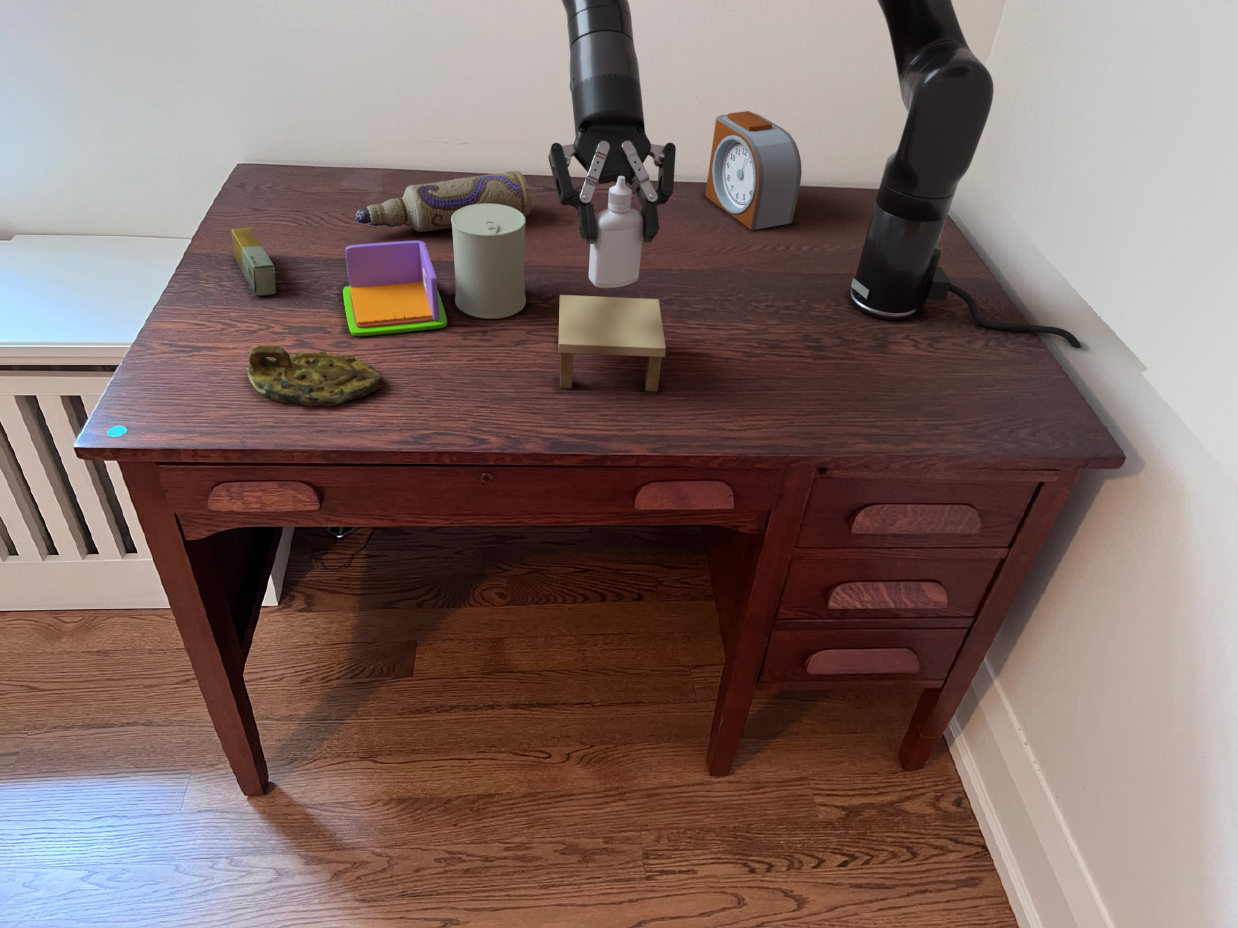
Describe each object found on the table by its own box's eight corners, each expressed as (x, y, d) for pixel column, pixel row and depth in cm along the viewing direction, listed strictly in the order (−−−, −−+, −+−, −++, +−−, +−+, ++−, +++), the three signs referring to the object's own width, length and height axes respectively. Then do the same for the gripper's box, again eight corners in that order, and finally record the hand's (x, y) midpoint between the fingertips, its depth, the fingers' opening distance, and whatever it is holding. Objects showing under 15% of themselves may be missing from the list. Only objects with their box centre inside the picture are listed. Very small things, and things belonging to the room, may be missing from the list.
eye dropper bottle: (637, 292, 98) (647, 188, 90) (587, 287, 98) (593, 183, 90) (639, 273, 101) (648, 171, 93) (590, 269, 101) (596, 166, 93)
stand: (653, 342, 111) (658, 299, 107) (660, 393, 103) (666, 348, 99) (558, 338, 110) (559, 294, 106) (556, 389, 102) (558, 343, 98)
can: (460, 322, 112) (455, 233, 104) (450, 286, 118) (445, 201, 111) (532, 316, 114) (532, 229, 106) (518, 282, 121) (518, 197, 113)
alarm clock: (699, 193, 148) (710, 111, 140) (741, 187, 152) (754, 106, 143) (749, 230, 138) (764, 144, 130) (792, 222, 142) (810, 138, 133)
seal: (391, 370, 104) (260, 364, 103) (388, 334, 102) (254, 327, 100) (377, 410, 96) (235, 404, 95) (373, 372, 94) (227, 365, 93)
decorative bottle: (515, 204, 140) (515, 162, 135) (533, 224, 135) (533, 182, 130) (350, 225, 130) (344, 181, 126) (363, 248, 125) (357, 203, 121)
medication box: (277, 295, 114) (275, 266, 111) (255, 297, 112) (253, 268, 110) (253, 253, 121) (250, 225, 119) (232, 255, 120) (229, 227, 117)
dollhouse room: (434, 282, 119) (431, 234, 115) (449, 328, 110) (446, 279, 106) (341, 290, 116) (334, 241, 111) (350, 338, 107) (342, 287, 103)
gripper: (544, 70, 90) (559, 231, 89) (679, 72, 93) (695, 227, 92) (536, 105, 98) (549, 254, 97) (661, 106, 101) (676, 250, 100)
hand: (620, 240), depth 94 cm, fingers closed on eye dropper bottle, 5 cm apart
